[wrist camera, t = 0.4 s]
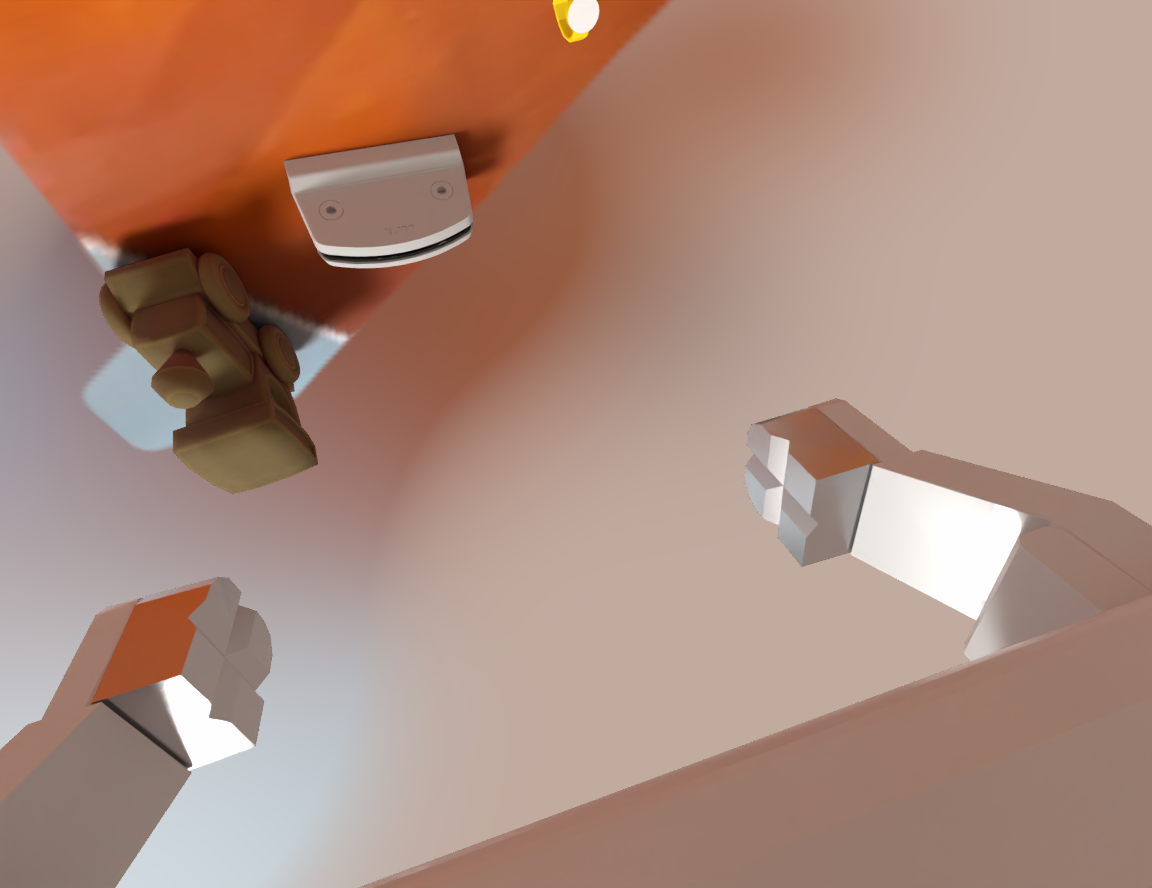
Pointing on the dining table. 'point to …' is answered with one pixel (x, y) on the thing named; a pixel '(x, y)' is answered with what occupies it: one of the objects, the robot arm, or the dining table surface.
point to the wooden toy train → (213, 367)
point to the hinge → (384, 202)
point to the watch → (576, 17)
